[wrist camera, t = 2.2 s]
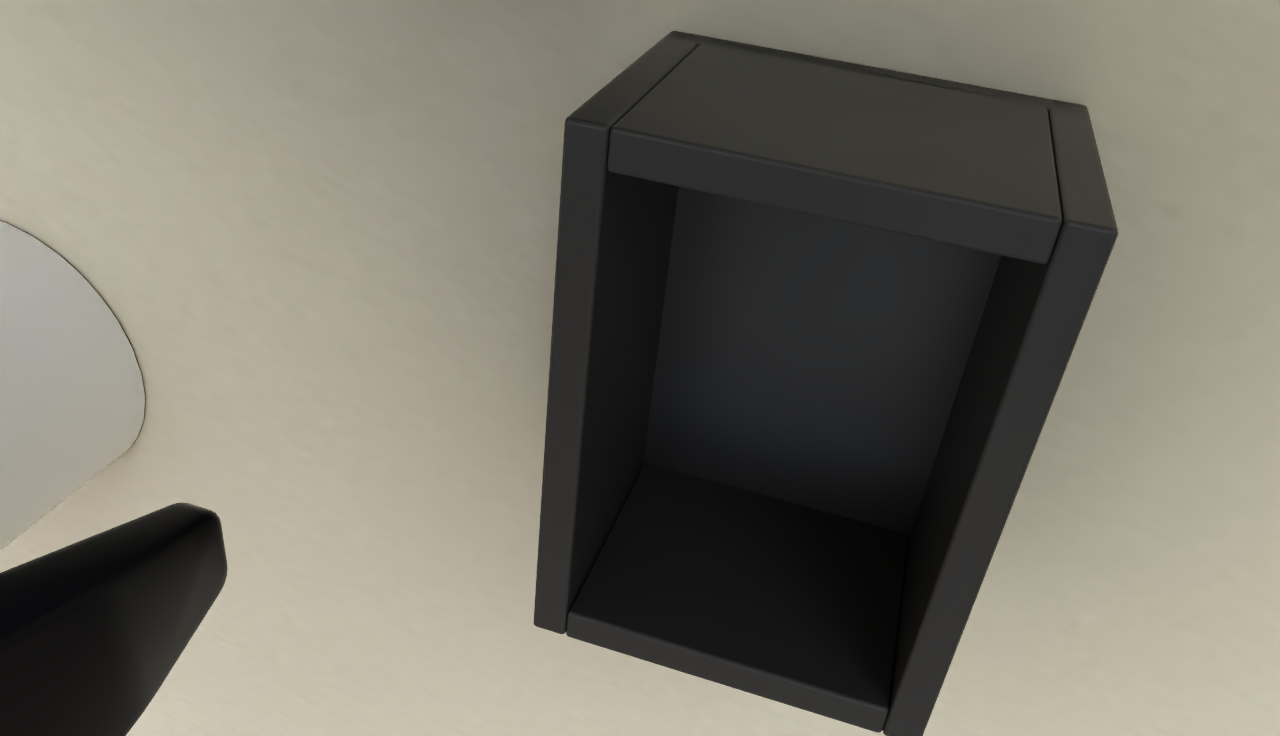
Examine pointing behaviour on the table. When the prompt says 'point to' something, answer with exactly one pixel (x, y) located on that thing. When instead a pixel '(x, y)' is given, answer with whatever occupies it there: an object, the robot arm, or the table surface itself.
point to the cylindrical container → (57, 383)
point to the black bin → (803, 364)
